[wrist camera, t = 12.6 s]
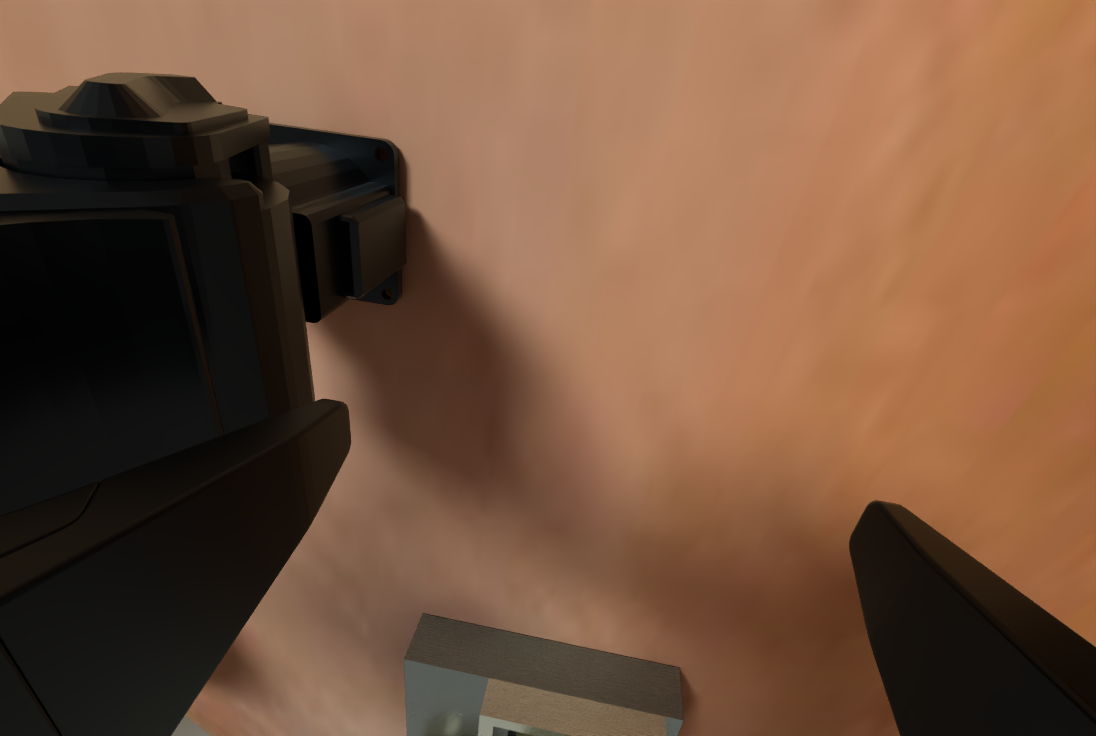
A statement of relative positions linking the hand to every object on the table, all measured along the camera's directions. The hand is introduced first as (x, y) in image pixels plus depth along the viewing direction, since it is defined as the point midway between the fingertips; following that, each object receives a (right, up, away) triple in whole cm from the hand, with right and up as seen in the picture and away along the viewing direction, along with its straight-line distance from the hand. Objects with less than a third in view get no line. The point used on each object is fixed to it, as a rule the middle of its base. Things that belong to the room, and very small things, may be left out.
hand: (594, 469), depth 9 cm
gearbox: (-1, -21, +26) cm, 34 cm away
